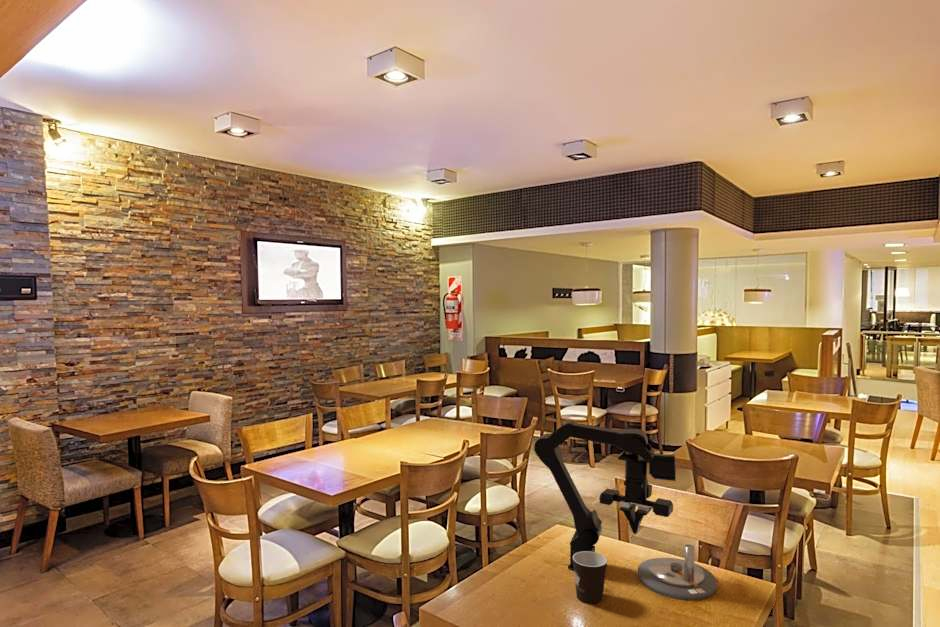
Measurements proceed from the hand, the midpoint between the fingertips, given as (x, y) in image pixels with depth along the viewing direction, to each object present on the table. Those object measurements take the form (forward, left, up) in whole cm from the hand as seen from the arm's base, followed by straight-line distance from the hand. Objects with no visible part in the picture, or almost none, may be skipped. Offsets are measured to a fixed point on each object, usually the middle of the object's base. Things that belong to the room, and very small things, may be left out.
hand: (635, 533), depth 153 cm
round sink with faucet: (+11, +3, -10) cm, 15 cm away
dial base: (+10, +4, -12) cm, 16 cm away
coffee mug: (-7, -16, -12) cm, 21 cm away
